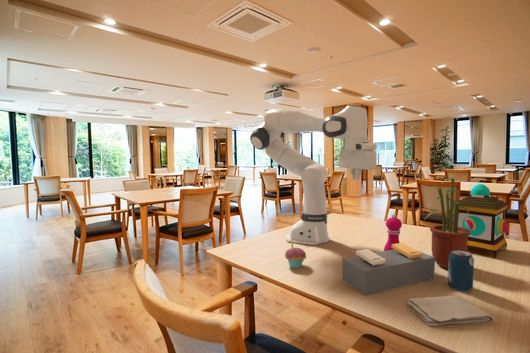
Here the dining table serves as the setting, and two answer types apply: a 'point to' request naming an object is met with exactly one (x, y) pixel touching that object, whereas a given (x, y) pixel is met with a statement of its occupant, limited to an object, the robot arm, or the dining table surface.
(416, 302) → the washcloth
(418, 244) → the dining table surface
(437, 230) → the potted plant
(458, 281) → the soda can
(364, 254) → the cream rocker
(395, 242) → the pepper mill
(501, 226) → the decorative lantern
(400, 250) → the bar
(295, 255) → the cupcake
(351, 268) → the grey rectangular block
